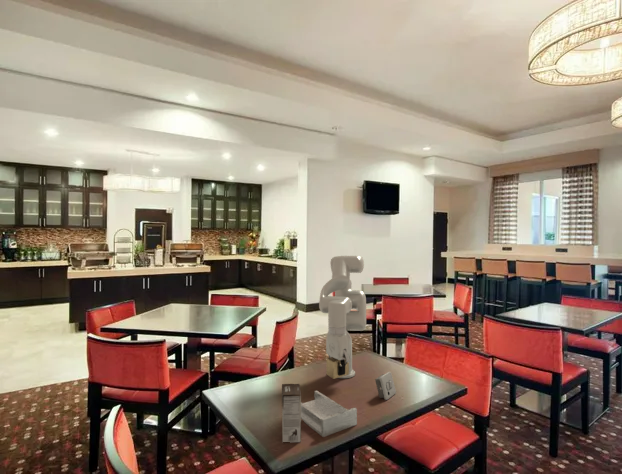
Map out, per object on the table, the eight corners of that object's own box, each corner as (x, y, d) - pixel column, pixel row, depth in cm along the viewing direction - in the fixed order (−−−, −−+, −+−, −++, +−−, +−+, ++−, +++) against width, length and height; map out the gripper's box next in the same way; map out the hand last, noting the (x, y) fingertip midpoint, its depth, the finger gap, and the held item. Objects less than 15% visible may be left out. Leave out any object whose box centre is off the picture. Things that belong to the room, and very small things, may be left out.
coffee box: (281, 429, 129) (281, 383, 129) (299, 428, 130) (299, 382, 130) (281, 443, 120) (281, 394, 120) (301, 442, 120) (301, 393, 121)
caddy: (288, 409, 144) (288, 395, 144) (319, 400, 152) (319, 386, 152) (323, 437, 124) (323, 420, 124) (356, 424, 132) (356, 408, 132)
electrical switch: (386, 401, 151) (384, 378, 152) (375, 398, 154) (373, 376, 155) (396, 393, 158) (394, 371, 159) (385, 391, 162) (384, 370, 162)
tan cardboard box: (326, 374, 153) (326, 358, 153) (341, 370, 158) (341, 354, 157) (333, 379, 149) (333, 362, 149) (348, 374, 153) (348, 357, 153)
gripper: (318, 326, 158) (318, 367, 158) (342, 336, 143) (343, 382, 144) (332, 323, 162) (332, 363, 163) (357, 333, 147) (357, 377, 148)
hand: (337, 372), depth 153 cm, fingers closed on tan cardboard box, 5 cm apart
